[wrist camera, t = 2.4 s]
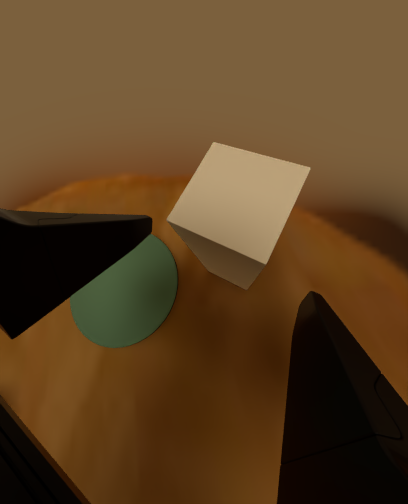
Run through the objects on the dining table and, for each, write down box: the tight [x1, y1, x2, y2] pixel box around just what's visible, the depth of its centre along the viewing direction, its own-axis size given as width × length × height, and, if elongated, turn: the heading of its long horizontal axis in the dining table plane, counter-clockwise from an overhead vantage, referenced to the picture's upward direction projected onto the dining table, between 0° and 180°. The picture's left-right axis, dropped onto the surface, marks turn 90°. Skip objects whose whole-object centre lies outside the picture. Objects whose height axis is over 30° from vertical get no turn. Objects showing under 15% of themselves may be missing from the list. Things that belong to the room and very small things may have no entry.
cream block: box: [167, 142, 311, 290], centre depth 13 cm, size 4×4×12 cm
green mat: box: [70, 234, 178, 348], centre depth 20 cm, size 13×13×1 cm
